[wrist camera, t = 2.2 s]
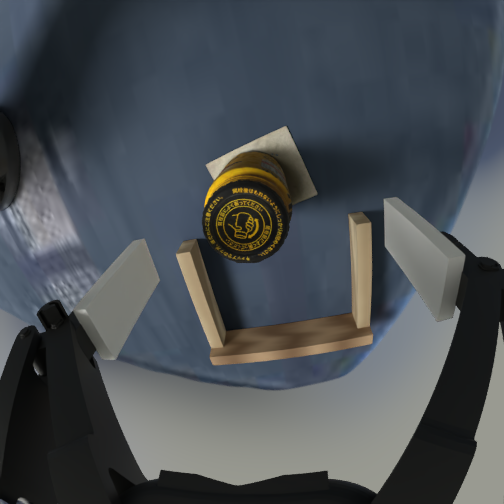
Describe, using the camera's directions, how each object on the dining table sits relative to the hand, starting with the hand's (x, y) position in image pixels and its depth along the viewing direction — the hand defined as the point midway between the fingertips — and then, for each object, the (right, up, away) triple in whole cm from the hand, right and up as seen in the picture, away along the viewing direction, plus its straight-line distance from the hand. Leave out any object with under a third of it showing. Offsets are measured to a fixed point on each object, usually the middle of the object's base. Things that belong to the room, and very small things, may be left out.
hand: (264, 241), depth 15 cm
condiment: (0, +7, +13) cm, 14 cm away
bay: (+3, -4, +18) cm, 18 cm away
